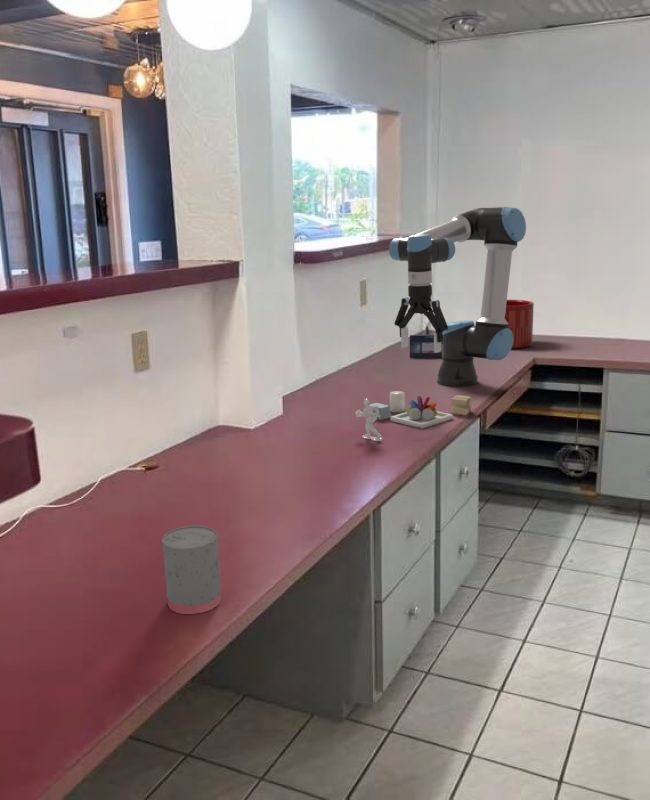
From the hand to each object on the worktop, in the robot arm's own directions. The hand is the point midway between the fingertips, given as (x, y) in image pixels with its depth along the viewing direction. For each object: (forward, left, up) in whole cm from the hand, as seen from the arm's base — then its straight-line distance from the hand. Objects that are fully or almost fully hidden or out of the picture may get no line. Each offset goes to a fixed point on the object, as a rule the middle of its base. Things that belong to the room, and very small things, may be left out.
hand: (421, 349), depth 256 cm
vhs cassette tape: (-71, -55, -21) cm, 92 cm away
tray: (+10, +9, -20) cm, 24 cm away
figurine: (+35, +10, -21) cm, 42 cm away
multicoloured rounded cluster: (+9, +9, -20) cm, 24 cm away
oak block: (-6, +12, -20) cm, 24 cm away
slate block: (+16, -4, -20) cm, 26 cm away
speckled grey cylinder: (+126, +55, -21) cm, 139 cm away
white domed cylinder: (+6, -5, -20) cm, 22 cm away
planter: (-116, -46, -21) cm, 127 cm away
